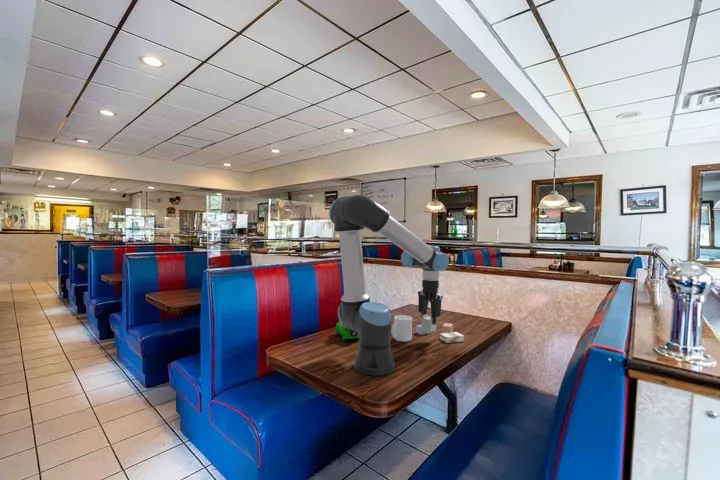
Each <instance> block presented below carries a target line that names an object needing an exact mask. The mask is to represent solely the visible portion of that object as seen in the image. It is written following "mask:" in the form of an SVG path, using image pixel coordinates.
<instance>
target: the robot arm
mask: <svg viewBox="0 0 720 480" xmlns="http://www.w3.org/2000/svg"><path fill="white" fill-rule="evenodd" d="M328 216H329V220H330V221H331V223H332V224H333V225H334V233H336V234H337V235H338V237H339V249H340V258H341V269H342V270H341V271H342V283H343V292H344V293H343V295H342V296H341V298H340V302H341V303H340V305H339V306H338V309H337V317H338V319H339V320H340V321H341V323H342V324H343V325H344V326H346V327H347V328H349V329H352V330H353V331H355V332H357V333H359V340H358V341H359V344H358V349H357V352H356V356H355V359H354V363H353V364H354V369H355V371H356V372H358V373H360V374H363V375H365V376H374V377H375V376H378V377H379V376H386V375H389V374H391V373H393V372H394V371H395V370H396V368H395V367H396V366H395V365H396V362H395V359H394V355H393V352H392V347H391V340H392V339H391V336H392V334H391V328H392V312H391V308H390V307H389V306H387V305H386V304H384V303H381V302H379V303H378V302H375V301H370V299H371V298H370V295H369V294H368V293H367V292H366V282H365V274H364V273H365V272H364V271H365V270H364V269H365V268H364V260H363V257H364V256H363V247H362V235H361V234H362V233H363V232H364V230H365V229H368V230H370V231H371V232H372V233H378V234H380V235H382V236H383V237H384V238H386V239H387V240H389V241H390V242H391V243H393V244H394V245H396V246H397V247H399V248H400V249H401V250H403V252H402V253H401V255H400V261H401V264H402V266H404V267H406V268H418V269H419V268H420V269H422V277H421V278H422V280H421V286H422V290H418V291H417V295H418V296H417V297H418V302H417V303H418V308H417V309H418V313H420V314H421V320H422V318H423V317H428V316H429V315H428V307H429V305H430V312H431V313H430V314H431V315H430V316H431V317H430V332H431V333H432V331H433V332H436V331H435V324H436V318H438V317H441V312H442V300H443V298H444V295H443V294H439V290H438V289H439V287H440V286H439V285H440V282H439V278H440V272H443V271H445V270H447V269H448V267H449V265H450V259H449V256H448V255H447V254H446V253H443V252H441V248H440V247H439V246H436V245H435V246H434V245H428V244H427V243H426V242H424V241H423V240H422V239H421V238H419V237H418V236H417V235H415V234H414V233H413V232H412V231H410V230H409V229H408V228H407V227H406V226H404V225H403V224H402V223H400V222H399V221H397V220H396V219H395V218H393V217H392V216H391V213H390V211H389V210H387V209H386V208H385V207H384V206H383V205H381V204H380V203H378V202H377V201H375V200H374V199H372V198H370V197H368V196H367V195H363V194H355V195H347V196H341V197H339V198H336V199H335V200H334V201H333V202H332V203H331V205H330V207H329V211H328ZM429 303H430V304H429ZM339 320H338V321H339Z"/></svg>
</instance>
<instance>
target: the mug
mask: <svg viewBox="0 0 720 480" xmlns="http://www.w3.org/2000/svg"><path fill="white" fill-rule="evenodd" d="M391 336H392V337H393V339H394V340H396V341H397V342H403V343H405V342H410V341H411V340H412V338H413V317H412V316H411V315H403V314H400V315H396V316H395V315H394V320H393V323H392V324H391Z"/></svg>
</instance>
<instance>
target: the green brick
mask: <svg viewBox="0 0 720 480" xmlns="http://www.w3.org/2000/svg"><path fill="white" fill-rule="evenodd" d="M431 316H432V315H428V317H423V318H422V317H421V319H422V320H421V324H420V325H421V331H424V332H427V333H429V332H430V317H431ZM437 318H438V317H437ZM437 318H436V324H435V331H432V332H437V324H438V323H437V322H438V319H437ZM432 332H431V333H432Z"/></svg>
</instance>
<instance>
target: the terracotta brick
mask: <svg viewBox="0 0 720 480" xmlns="http://www.w3.org/2000/svg"><path fill="white" fill-rule="evenodd" d="M450 332H454V323H449V322H445V323H443V324H442V325H441V333H450Z"/></svg>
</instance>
